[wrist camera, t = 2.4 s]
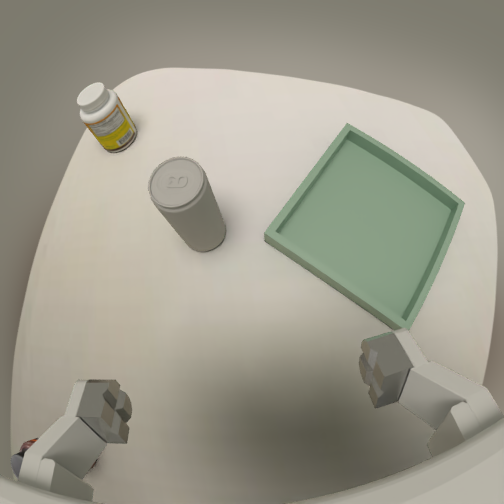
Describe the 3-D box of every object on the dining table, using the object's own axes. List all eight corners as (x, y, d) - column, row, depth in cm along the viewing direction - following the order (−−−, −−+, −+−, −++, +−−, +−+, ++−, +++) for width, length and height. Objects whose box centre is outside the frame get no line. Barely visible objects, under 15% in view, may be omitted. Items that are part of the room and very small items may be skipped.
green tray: (455, 211, 33) (464, 202, 31) (398, 332, 30) (408, 331, 27) (343, 135, 37) (347, 123, 35) (264, 241, 34) (264, 232, 31)
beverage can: (187, 212, 35) (152, 156, 24) (228, 213, 35) (208, 153, 23) (182, 252, 34) (141, 209, 22) (225, 253, 34) (201, 208, 22)
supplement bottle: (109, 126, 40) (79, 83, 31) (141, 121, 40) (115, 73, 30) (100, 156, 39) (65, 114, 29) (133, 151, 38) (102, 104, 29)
